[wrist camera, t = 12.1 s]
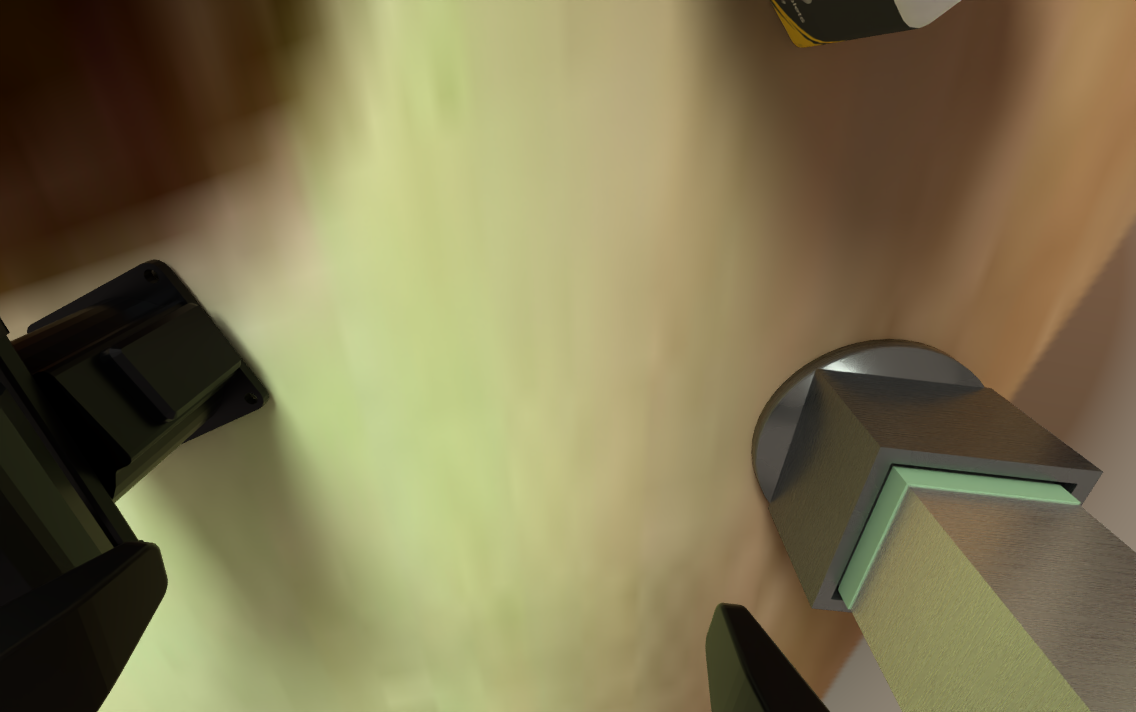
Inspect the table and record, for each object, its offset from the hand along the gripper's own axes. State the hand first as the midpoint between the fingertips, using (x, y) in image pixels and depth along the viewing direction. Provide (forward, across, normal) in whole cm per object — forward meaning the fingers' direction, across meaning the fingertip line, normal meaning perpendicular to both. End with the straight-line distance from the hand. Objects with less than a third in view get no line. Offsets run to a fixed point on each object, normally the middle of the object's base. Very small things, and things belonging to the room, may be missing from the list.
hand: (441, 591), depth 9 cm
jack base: (+13, -14, +4) cm, 20 cm away
